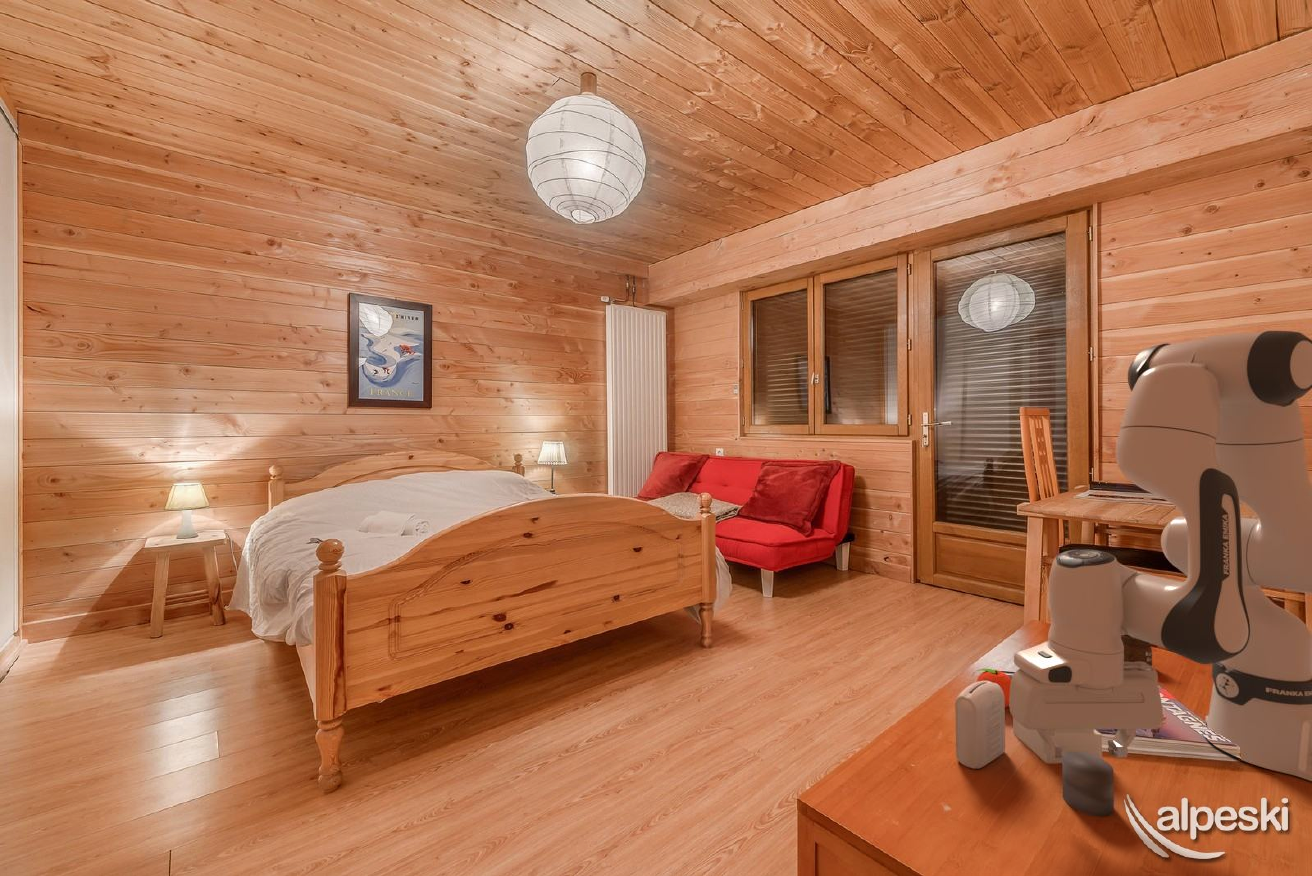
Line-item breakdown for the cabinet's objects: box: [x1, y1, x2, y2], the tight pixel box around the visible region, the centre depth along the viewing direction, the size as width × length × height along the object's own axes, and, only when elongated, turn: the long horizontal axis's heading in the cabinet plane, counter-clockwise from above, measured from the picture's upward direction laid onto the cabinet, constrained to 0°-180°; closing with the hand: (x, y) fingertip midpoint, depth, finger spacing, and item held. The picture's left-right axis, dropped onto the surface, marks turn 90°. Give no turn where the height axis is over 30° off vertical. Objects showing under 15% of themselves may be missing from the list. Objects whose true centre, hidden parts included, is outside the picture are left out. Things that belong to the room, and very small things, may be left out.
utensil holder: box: [1120, 635, 1153, 669], centre depth 127 cm, size 6×6×12 cm
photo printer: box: [954, 681, 1006, 770], centre depth 95 cm, size 10×4×12 cm, turn 123°
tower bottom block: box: [1012, 716, 1103, 764], centre depth 97 cm, size 9×9×5 cm
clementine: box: [971, 668, 1012, 708], centre depth 112 cm, size 8×7×7 cm
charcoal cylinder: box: [1061, 751, 1115, 818], centre depth 83 cm, size 6×6×6 cm
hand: (1085, 755), depth 82 cm, fingers open, 8 cm apart
